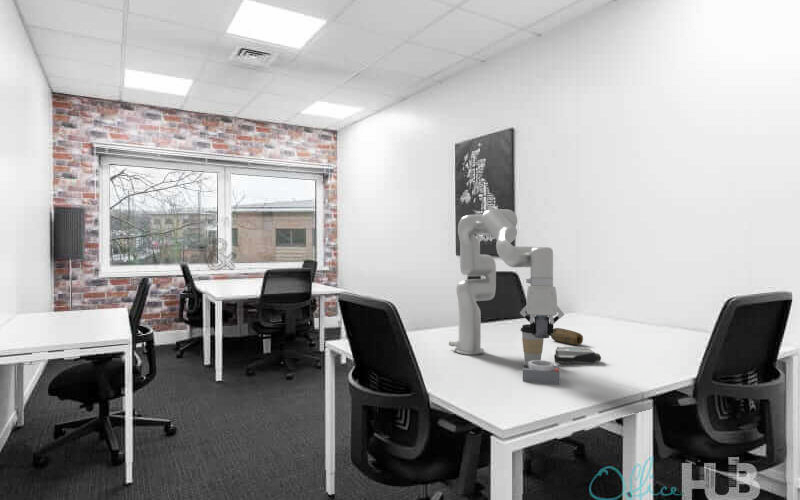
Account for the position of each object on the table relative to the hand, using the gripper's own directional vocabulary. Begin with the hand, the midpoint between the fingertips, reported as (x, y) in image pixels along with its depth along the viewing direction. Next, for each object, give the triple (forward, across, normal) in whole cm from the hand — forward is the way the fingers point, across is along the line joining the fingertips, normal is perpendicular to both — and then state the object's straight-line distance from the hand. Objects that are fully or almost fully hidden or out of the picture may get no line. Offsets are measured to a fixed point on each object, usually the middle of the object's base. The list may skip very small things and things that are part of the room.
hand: (541, 334), depth 165 cm
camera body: (+16, 0, 0) cm, 16 cm away
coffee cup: (+16, -4, +21) cm, 27 cm away
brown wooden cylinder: (+16, +10, +67) cm, 70 cm away
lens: (+1, 0, 0) cm, 1 cm away
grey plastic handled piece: (+16, +12, +33) cm, 39 cm away
